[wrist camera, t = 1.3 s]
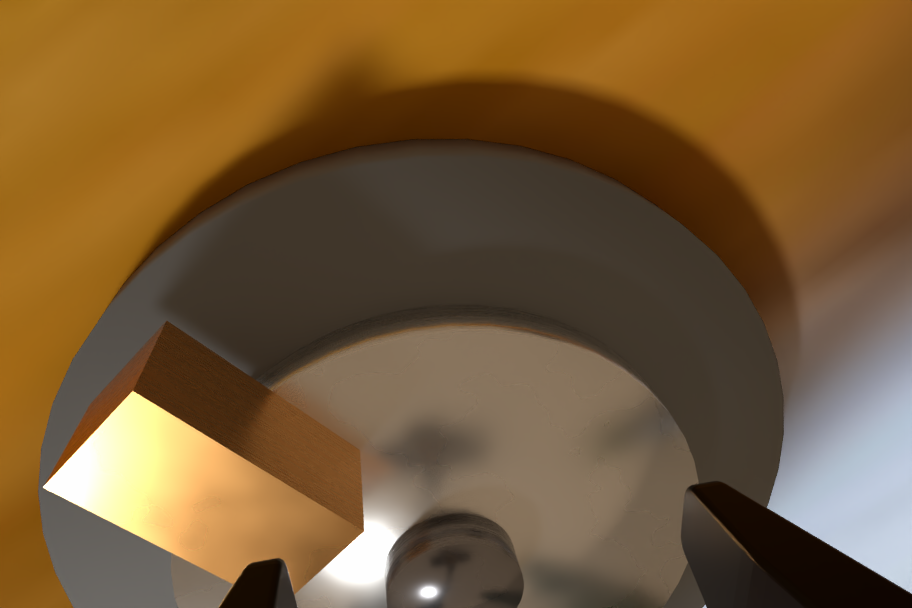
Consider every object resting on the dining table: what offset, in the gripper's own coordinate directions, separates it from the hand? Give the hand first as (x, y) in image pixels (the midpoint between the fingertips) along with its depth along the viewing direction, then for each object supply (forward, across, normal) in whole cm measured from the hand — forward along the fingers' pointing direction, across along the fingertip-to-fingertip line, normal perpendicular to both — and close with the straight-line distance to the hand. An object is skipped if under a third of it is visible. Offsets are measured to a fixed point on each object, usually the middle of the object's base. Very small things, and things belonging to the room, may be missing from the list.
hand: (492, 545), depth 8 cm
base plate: (+13, 0, +10) cm, 16 cm away
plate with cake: (+11, +1, +9) cm, 14 cm away
